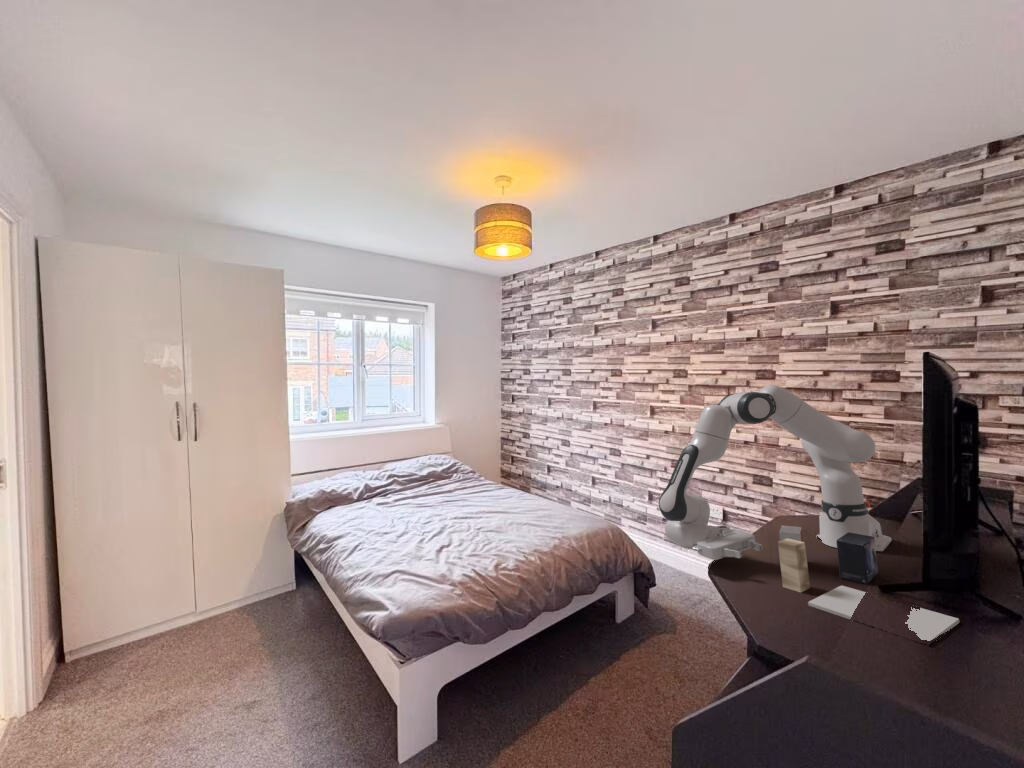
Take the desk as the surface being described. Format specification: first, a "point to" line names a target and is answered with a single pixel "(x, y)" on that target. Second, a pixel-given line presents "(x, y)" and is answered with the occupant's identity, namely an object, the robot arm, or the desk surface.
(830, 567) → the desk surface
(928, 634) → the rubber mat
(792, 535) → the small box
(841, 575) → the small box
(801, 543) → the maple block
